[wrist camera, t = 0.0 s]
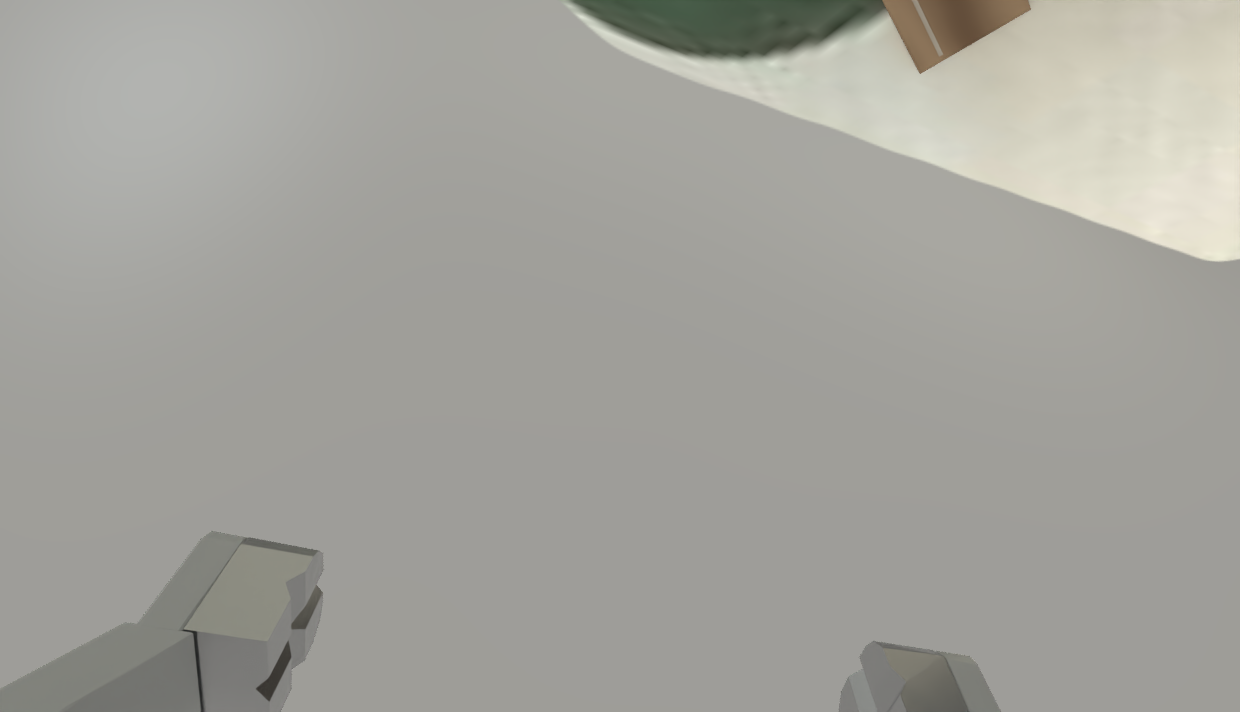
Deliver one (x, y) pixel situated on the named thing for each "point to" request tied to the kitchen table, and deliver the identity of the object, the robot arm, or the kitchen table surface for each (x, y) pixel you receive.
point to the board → (948, 24)
